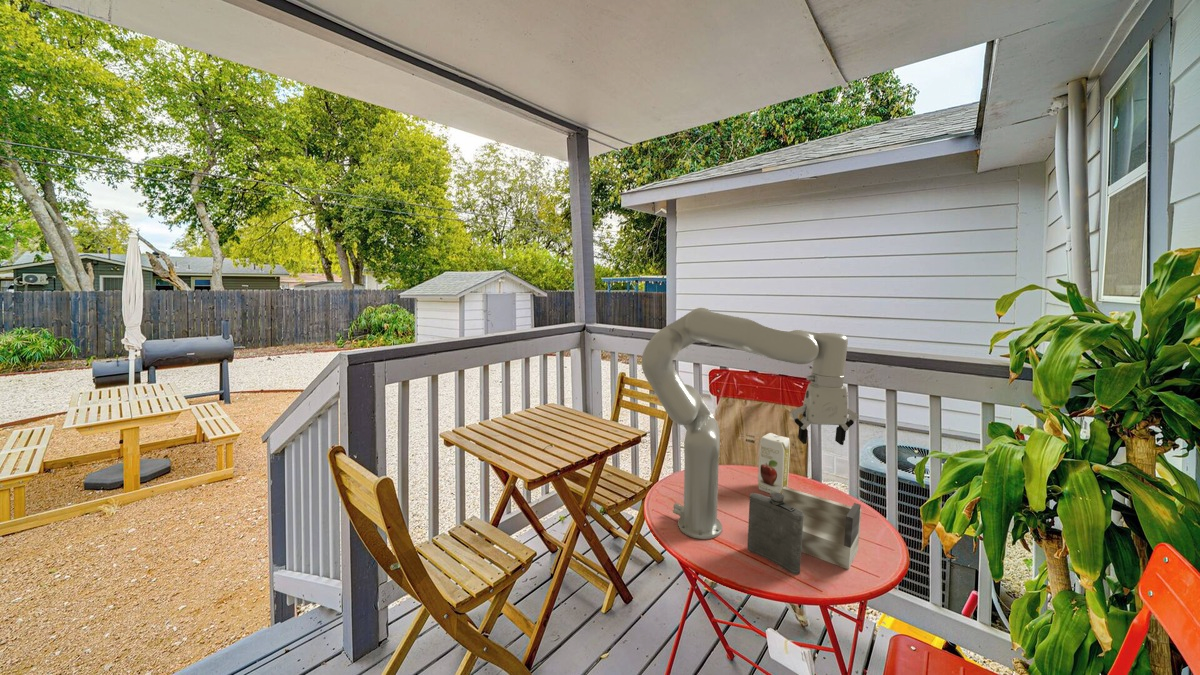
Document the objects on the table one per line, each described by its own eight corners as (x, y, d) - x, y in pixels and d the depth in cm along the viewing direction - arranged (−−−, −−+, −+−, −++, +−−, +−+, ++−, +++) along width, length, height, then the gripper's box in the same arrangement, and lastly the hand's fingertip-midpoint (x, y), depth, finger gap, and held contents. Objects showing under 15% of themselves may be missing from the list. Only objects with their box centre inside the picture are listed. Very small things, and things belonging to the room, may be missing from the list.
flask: (752, 544, 127) (755, 483, 124) (803, 570, 116) (808, 503, 113) (745, 549, 125) (748, 487, 122) (796, 576, 114) (800, 508, 111)
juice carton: (765, 482, 163) (768, 431, 160) (789, 490, 157) (792, 437, 154) (755, 489, 158) (757, 436, 155) (779, 498, 151) (782, 443, 148)
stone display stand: (769, 539, 129) (772, 493, 127) (782, 524, 136) (784, 480, 134) (848, 569, 116) (852, 518, 114) (857, 551, 124) (862, 502, 121)
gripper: (799, 383, 117) (793, 447, 120) (868, 385, 116) (861, 449, 119) (788, 376, 124) (783, 436, 127) (853, 377, 124) (846, 438, 127)
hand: (820, 442), depth 123 cm, fingers open, 9 cm apart
